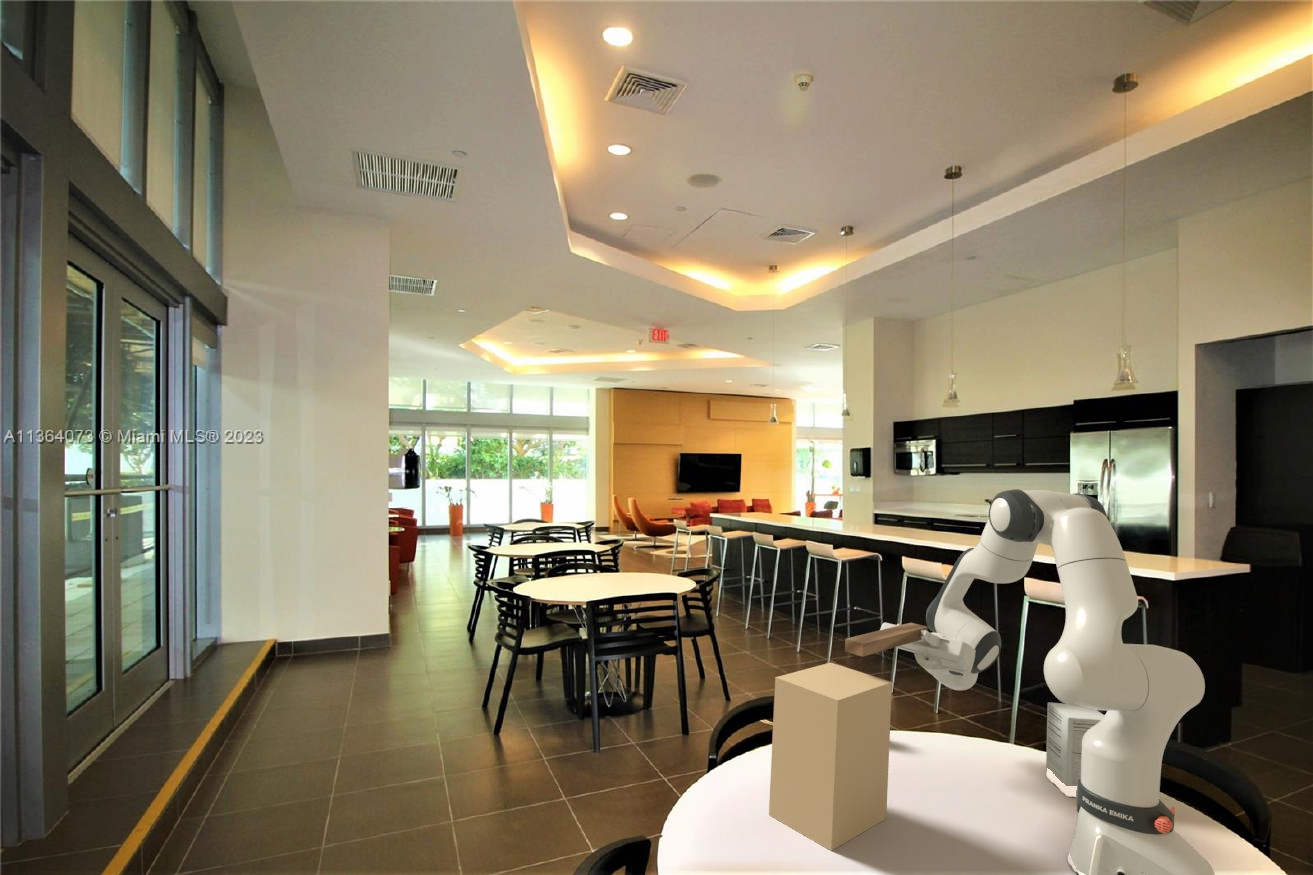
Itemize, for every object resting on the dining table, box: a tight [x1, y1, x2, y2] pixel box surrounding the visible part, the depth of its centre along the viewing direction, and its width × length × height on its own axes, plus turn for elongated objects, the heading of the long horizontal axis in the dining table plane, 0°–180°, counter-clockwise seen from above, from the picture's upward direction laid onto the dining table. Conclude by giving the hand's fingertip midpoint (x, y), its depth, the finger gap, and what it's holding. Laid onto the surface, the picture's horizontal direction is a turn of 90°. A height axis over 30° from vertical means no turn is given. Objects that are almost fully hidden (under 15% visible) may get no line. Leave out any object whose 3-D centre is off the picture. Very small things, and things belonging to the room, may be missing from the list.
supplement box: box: [1045, 702, 1105, 786], centre depth 143 cm, size 10×9×17 cm
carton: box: [768, 662, 893, 852], centre depth 126 cm, size 14×18×26 cm
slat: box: [844, 622, 929, 657], centre depth 139 cm, size 4×26×2 cm, turn 130°
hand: (910, 630), depth 145 cm, fingers closed on slat, 4 cm apart
